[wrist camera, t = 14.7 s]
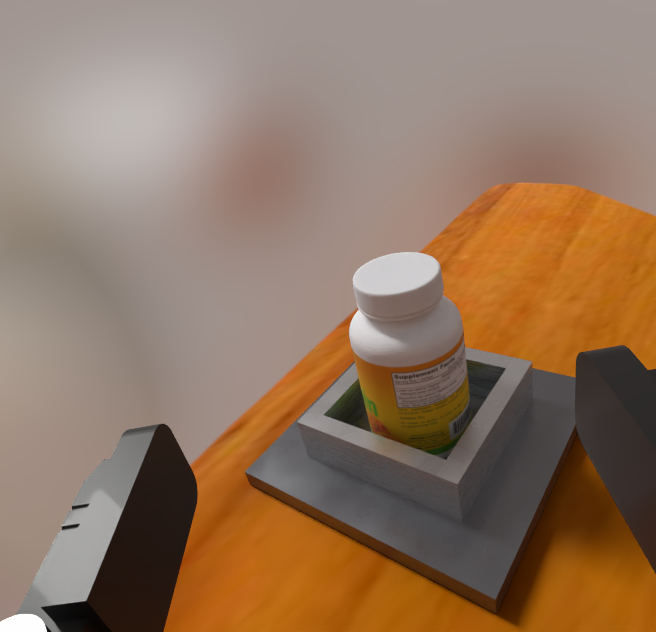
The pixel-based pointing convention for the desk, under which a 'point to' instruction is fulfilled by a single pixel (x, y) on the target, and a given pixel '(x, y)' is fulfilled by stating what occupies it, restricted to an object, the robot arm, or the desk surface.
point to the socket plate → (433, 475)
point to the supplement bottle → (410, 353)
